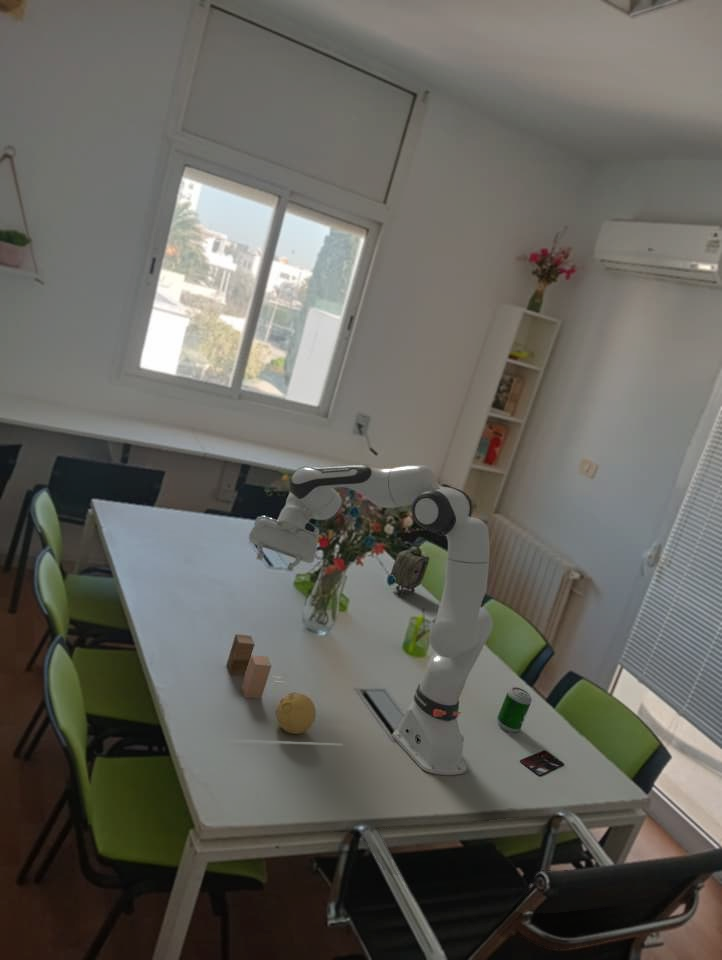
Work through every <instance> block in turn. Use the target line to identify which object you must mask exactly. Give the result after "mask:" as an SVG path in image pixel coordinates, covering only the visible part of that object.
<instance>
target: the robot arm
mask: <svg viewBox="0 0 722 960" xmlns="http://www.w3.org/2000/svg"><path fill="white" fill-rule="evenodd" d="M335 488H347V489H350V490H353V491H354V492H357V493H358V494H360V495H361V496H362V497H364V498H366V499H367V500H368V501H370V502H371V503H372V504H374V505H375V506H377V507H379V508H385V509H387V508H388V509H395V508H400V507H405V506H411V505H412V506H411V516H412V518H413V520H414V522H415V523H416V524H417V525H418V526H419V527H420V528H422V529H424V530H426V531H429V532H431V533H434V534H435V535H437V536H439V537H442V536H445V537H446V541H447V556H446V565H445V566H446V567H445V568H446V569H445V576H444V578H445V579H444V586H443V591H442V594H441V595H442V596H441V599H440V602H439V606H438V609H437V614H436V617H435V619H434V620H435V621H434V623H433V625H432V626H431V629H430V631H429V634H428V635H429V636H428V637H429V639H428V640H429V643H430V646H431V648H432V650H433V651H434V652H433V654H432V656H431V657H430V658H429V660H428V663H427V665H426V668H425V670H424V673H423V676H422V679H421V681H420V683H419V684H418V686H417V688H416V690H415V691H414V695H413V701H412V703H411V704H410V705H409V707H407V709H406V711H405V713H404V715H403V717H402V719H401V721H400V722H399V725H398V727H397V728H396V729H394V731H393V732H392V738H393V739H394V740H395V741H396V742H397V743H398V744H399V745H400V747H402V749H403V750H404V751H405V752H406V753H407V754H408V755H409V757H411V759H412V760H413V761H414V762H415V763H416V764H417V765H418V767H419V768H420V769H421V770H422V771H425V772H428V773H429V774H430V773H431V774H435V775H442V776H458V775H461V774H464V773H465V772H466V771H467V765H466V763H465V761H464V758H463V756H462V755H463V750H464V740H465V737H464V735H463V734H461V731H460V727H459V723H458V717H460V716H461V715H460V714H461V713H462V712H461V711H459V708H460V700H459V699H460V697H461V694H462V692H463V689H464V687H465V685H466V682H467V679H468V677H469V674H470V673H471V671H472V669H473V667H474V665H475V663H476V662H477V660H478V658H479V656H480V654H481V652H482V650H483V648H484V646H485V644H486V642H487V640H488V638H489V637H490V636H491V634H492V631H493V628H494V623H493V622H494V620H493V618H492V615H491V614H490V613H489V611H487V610H486V608H483V606H482V602H483V601H484V600H483V599H484V597H485V595H486V593H487V588H488V578H489V565H490V536H489V535H490V534H489V528H488V525H487V524H486V523H485V522H484V521H483V520H481V519H480V518H477V517H472V515H473V512H474V503H473V500H472V499H471V497H470V496H469V494H468V493H466V492H465V491H463V490H461V489H458V488H457V487H453V486H451V485H448V484H442V485H440V484H439V483H438V482H437V477H436V474H435V473H434V471H433V469H431V467H428V466H427V465H424V464H421V465H420V464H411V465H401V466H396V467H388V468H381V467H380V468H379V467H371V466H366V465H360V464H358V465H357V464H355V465H353V464H351V465H339V466H325V467H322V466H321V467H319V466H315V465H305V466H302V467H300V468H297V469H296V470H295V471H294V472H293V473H292V475H291V477H290V480H289V493H288V496H287V498H286V499H285V500H286V501H285V505H284V507H283V508H282V509H281V510H280V513H279V516H278V517H277V519H275V518H272V517H269V516H267V515H261V516H257V517H256V519H255V521H254V523H253V524H254V526H253V527H252V528H251V530H250V532H249V535H248V540H249V542H250V543H251V544H253V545H256V546H257V553H258V554H257V555H256V560H259V561H262V560H263V558H264V552H262V550H263V549H267V550H269V551H274V552H276V553H279V554H282V555H283V556H284V555H285V556H287V557H290V558H293V559H295V560H294V561H293V562H289V564H288V565H287V569H286V570H287V571H290V572H293V570H294V568H295V567H296V566H298V565H299V564H300V563H301V562H304V563H307V564H312V563H313V562H314V561H315V558H316V555H317V549H318V544H319V543H318V542H319V537H320V529H319V528H318V527H317V526H315V525H314V524H312V523H311V522H310V520H311V519H313V520H315V521H329V520H332V519H334V518H335V517H336V516H338V514H339V513H340V511H341V509H342V506H343V499H342V497H341V496H340V494H339V493H338V492H337V491H336V489H335ZM481 606H482V607H481Z"/></svg>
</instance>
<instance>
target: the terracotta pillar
mask: <svg viewBox="0 0 722 960" xmlns="http://www.w3.org/2000/svg"><path fill="white" fill-rule="evenodd" d="M271 669H272V663H271V661H270V660H269V657H268V656H264V655H252V654H251V658H250V661H249V664H248V667H247V671H246V674H245V676H244V678H243V682H242V685H241V690H242V693H243V696H244V698H246V699H259V700H260V699H262V697H263V694H264V692H265V687H266V684H267V681H268V679H269V675H270V673H271Z"/></svg>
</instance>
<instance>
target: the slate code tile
mask: <svg viewBox="0 0 722 960" xmlns="http://www.w3.org/2000/svg"><path fill="white" fill-rule="evenodd" d="M271 677H272V678H273V679H274V678H275V679H282V676H275V675H274V676H273V675H271ZM274 683H280V684H282V683H283V684H284V683H285V681H279V680H274Z"/></svg>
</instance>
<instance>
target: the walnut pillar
mask: <svg viewBox="0 0 722 960" xmlns="http://www.w3.org/2000/svg"><path fill="white" fill-rule="evenodd" d="M231 645H232V646H231V649H230V651H229V655H228V658H227V662H226V665H225V666H226V669H227V672H228V674H229V675H234V676H244V677H245V675H246V672H247V668H248V665H249V662H250V659H251V655H252V653H253V650H254V648H255V642H254V640H253V638H252V636H251V635H246V634H235V635H234V639H233V642H232V644H231Z"/></svg>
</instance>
